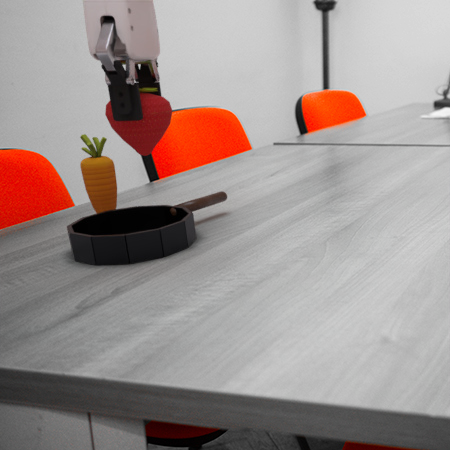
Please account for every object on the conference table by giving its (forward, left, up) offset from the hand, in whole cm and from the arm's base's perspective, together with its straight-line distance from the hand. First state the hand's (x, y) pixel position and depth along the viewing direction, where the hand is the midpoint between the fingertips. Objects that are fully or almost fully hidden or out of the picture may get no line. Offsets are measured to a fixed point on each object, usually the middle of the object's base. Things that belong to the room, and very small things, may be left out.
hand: (140, 116), depth 69 cm
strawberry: (0, 0, -5) cm, 5 cm away
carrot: (-16, +21, -20) cm, 33 cm away
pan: (-4, +14, -19) cm, 24 cm away
